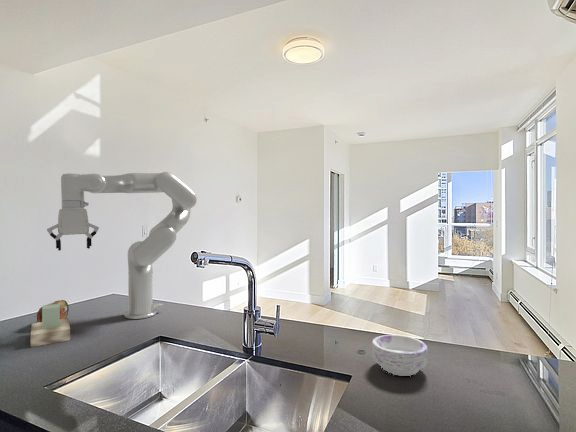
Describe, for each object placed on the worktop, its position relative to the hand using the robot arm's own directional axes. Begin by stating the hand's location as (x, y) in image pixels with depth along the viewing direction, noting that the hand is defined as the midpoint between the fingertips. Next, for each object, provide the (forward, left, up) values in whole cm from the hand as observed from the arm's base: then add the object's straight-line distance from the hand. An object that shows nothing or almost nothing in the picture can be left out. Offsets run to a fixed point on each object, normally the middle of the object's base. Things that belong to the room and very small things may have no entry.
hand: (74, 249), depth 135 cm
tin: (+7, -6, -30) cm, 31 cm away
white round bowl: (-74, +96, -30) cm, 125 cm away
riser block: (+8, +11, -30) cm, 33 cm away
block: (+8, +11, -26) cm, 29 cm away
